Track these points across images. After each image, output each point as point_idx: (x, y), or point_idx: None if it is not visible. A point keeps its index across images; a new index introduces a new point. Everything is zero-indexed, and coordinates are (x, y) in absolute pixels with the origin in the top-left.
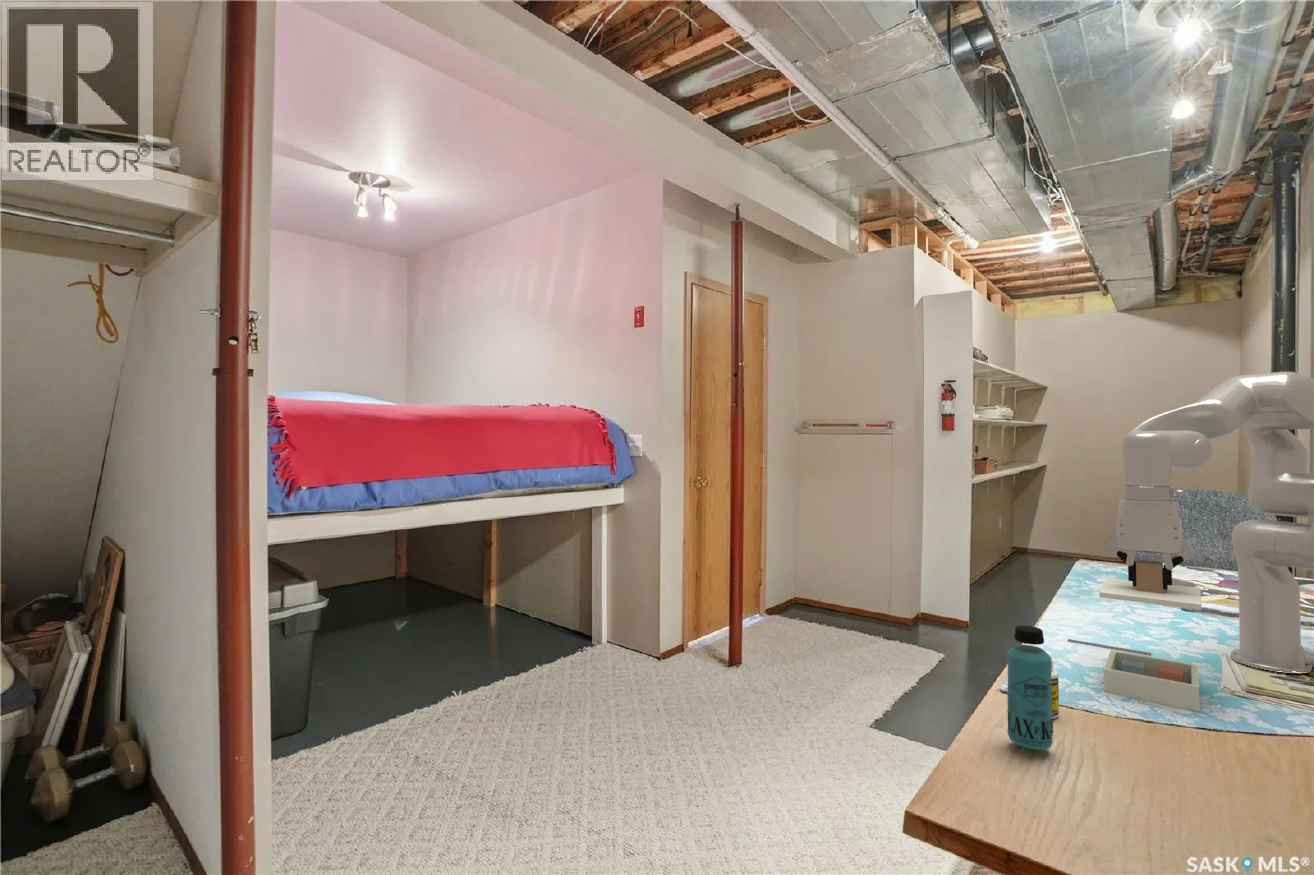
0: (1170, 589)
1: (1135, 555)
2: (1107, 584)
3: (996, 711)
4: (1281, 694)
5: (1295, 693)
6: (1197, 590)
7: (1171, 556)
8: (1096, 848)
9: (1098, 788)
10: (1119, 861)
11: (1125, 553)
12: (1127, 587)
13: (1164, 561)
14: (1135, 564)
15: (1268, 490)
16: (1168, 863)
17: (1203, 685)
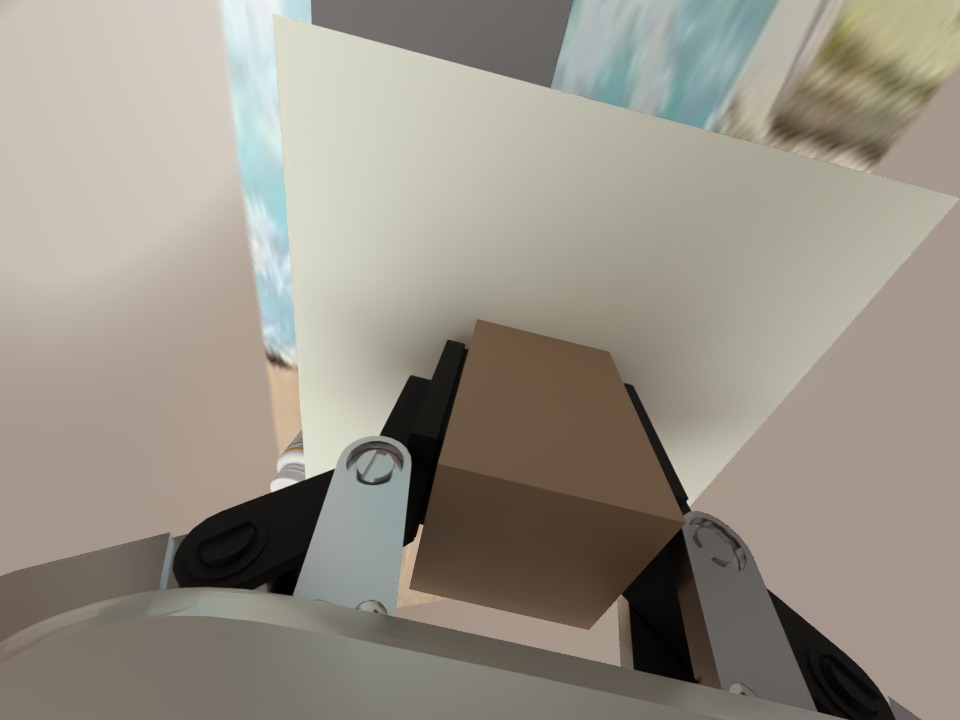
0: (656, 335)
1: (398, 562)
2: (313, 314)
3: (287, 432)
4: (873, 101)
5: (937, 64)
6: (843, 309)
7: (796, 662)
8: (404, 596)
9: (407, 545)
10: (416, 602)
11: (281, 575)
12: (416, 363)
13: (624, 662)
14: (415, 531)
15: None
16: (444, 599)
17: (674, 120)
